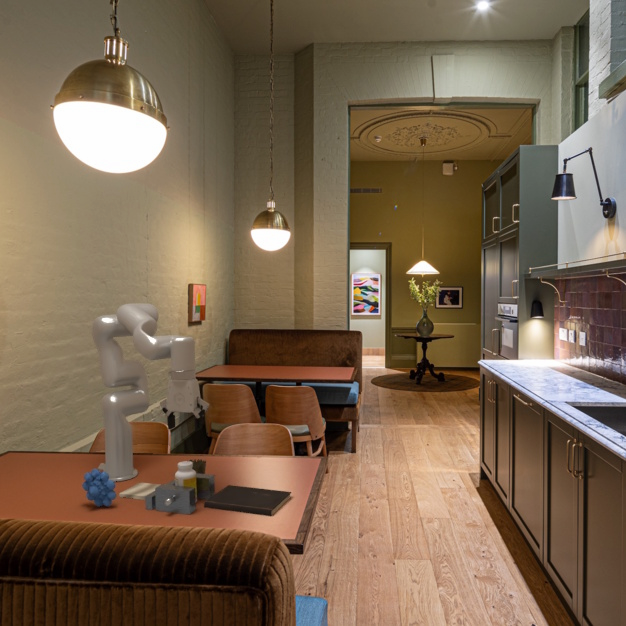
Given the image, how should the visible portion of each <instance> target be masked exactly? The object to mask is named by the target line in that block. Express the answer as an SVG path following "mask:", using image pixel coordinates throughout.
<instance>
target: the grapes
mask: <svg viewBox="0 0 626 626" xmlns="http://www.w3.org/2000/svg"><path fill="white" fill-rule="evenodd" d="M83 477H84V479H83V480H84V481H83V482H82V489H83V490H84V491H86V492H85V493H86V495H85V498H86V499H87V500H88V501H91V502H92V501H93V503H94V505H95V507H98V508H101V507H103V506H105V507H110V506H111V505H112V502H113V501H114V500H115V499H116V498H117V493H116V491H115V488H116V483H115V482H114V481H112V480H109V475H108V473H106V472H103V471H101V470H98V468H92V470H91V472H89V471H88V472H85V474H84V476H83ZM100 506H101V507H100Z"/></svg>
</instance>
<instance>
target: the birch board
mask: <svg viewBox="0 0 626 626" xmlns="http://www.w3.org/2000/svg"><path fill="white" fill-rule="evenodd" d="M159 485H160V484H158V483H149V482H140V481H139V482H138V483H136V484H134V485H133V486H130V487H129V488H126V489H125V490H123V491H121V492H119V494H118V497H119V498H123V497H126V498H125V499H132V498H133V499H134V500H141V501H145V496H147V495H148V494H150V493H152V492H153V491H155V488H156V487H158V486H159Z"/></svg>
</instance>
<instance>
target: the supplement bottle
mask: <svg viewBox="0 0 626 626" xmlns="http://www.w3.org/2000/svg"><path fill="white" fill-rule="evenodd" d="M192 467H193V462H191V461H189V460H185V461H180V462H178V463H177V469H178V470H177V471H176V472H175V474H174V480H175V486H184V487H194V488H195V494H196V503H197V502H198V499H197V486H196V472H195V470H193V469H192Z"/></svg>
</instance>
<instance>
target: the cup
mask: <svg viewBox="0 0 626 626" xmlns="http://www.w3.org/2000/svg"><path fill="white" fill-rule="evenodd" d="M188 461H191V462H193V467H192V469H193V470H195V472H196V473H198V474H206V467H207V460H205V459H203V460H202V459H199V458H197V459H194V460H193V459H189V460H188Z"/></svg>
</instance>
